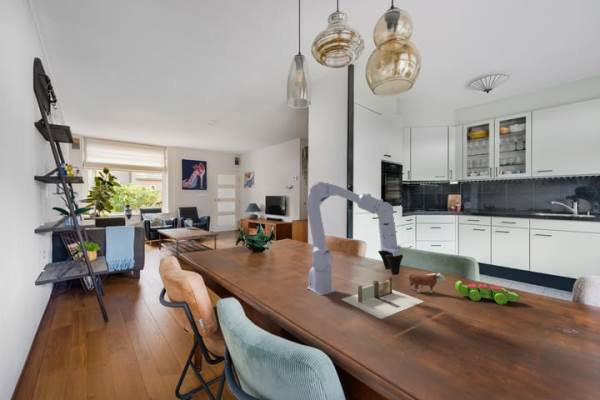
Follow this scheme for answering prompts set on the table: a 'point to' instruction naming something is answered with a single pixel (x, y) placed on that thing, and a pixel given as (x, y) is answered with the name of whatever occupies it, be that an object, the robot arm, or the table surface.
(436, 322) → the table surface
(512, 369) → the table surface
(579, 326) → the table surface
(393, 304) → the board
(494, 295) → the toy crocodile
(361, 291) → the hinged panel
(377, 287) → the fixed fence
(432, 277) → the bull figurine
